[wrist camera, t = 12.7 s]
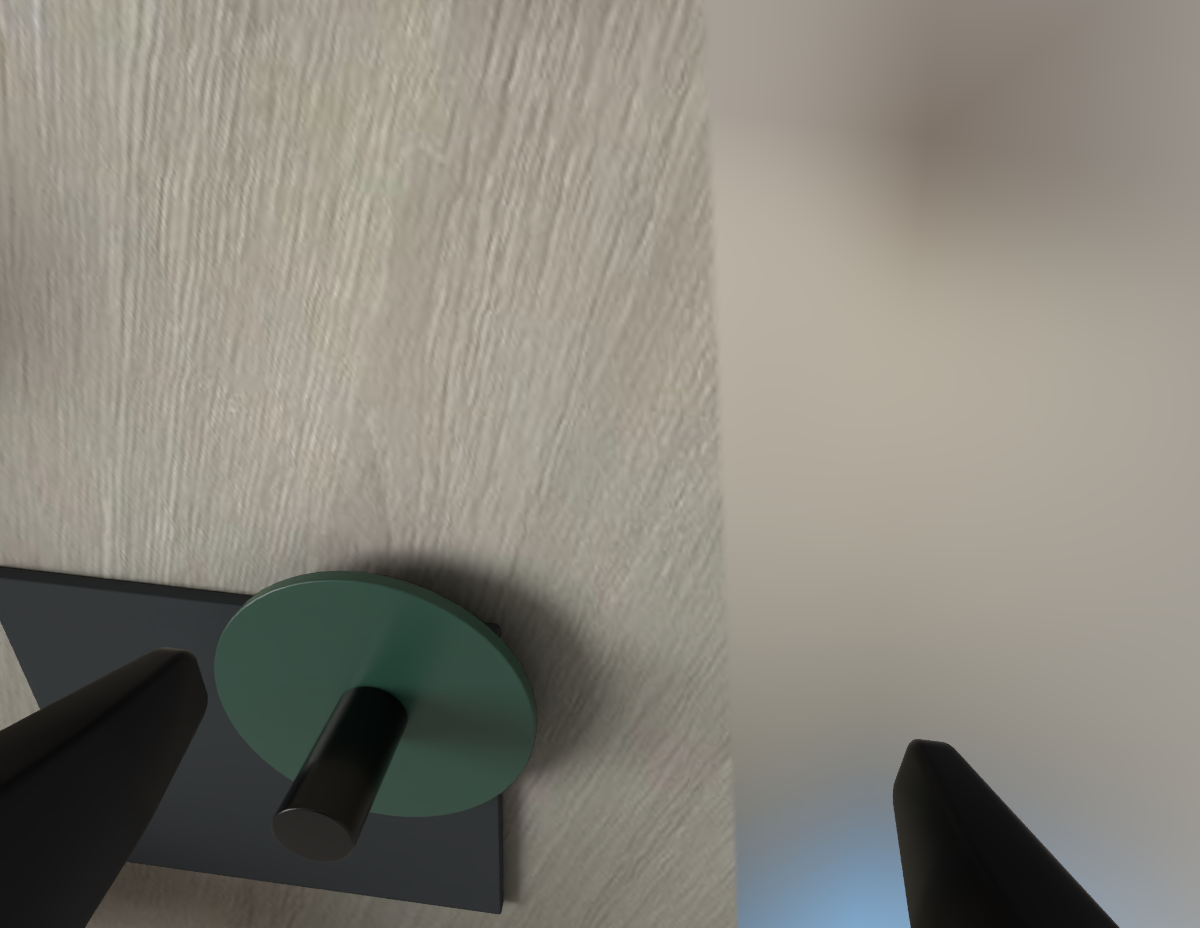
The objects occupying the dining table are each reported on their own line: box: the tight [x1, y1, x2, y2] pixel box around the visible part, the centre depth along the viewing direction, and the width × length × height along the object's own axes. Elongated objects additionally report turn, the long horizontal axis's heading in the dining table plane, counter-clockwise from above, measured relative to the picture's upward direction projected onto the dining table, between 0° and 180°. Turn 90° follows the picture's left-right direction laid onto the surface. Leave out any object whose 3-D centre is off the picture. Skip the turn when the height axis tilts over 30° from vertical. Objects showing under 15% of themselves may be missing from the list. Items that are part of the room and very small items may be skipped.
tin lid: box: [214, 571, 537, 862], centre depth 22 cm, size 11×11×6 cm
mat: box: [0, 567, 503, 914], centre depth 28 cm, size 18×16×1 cm
